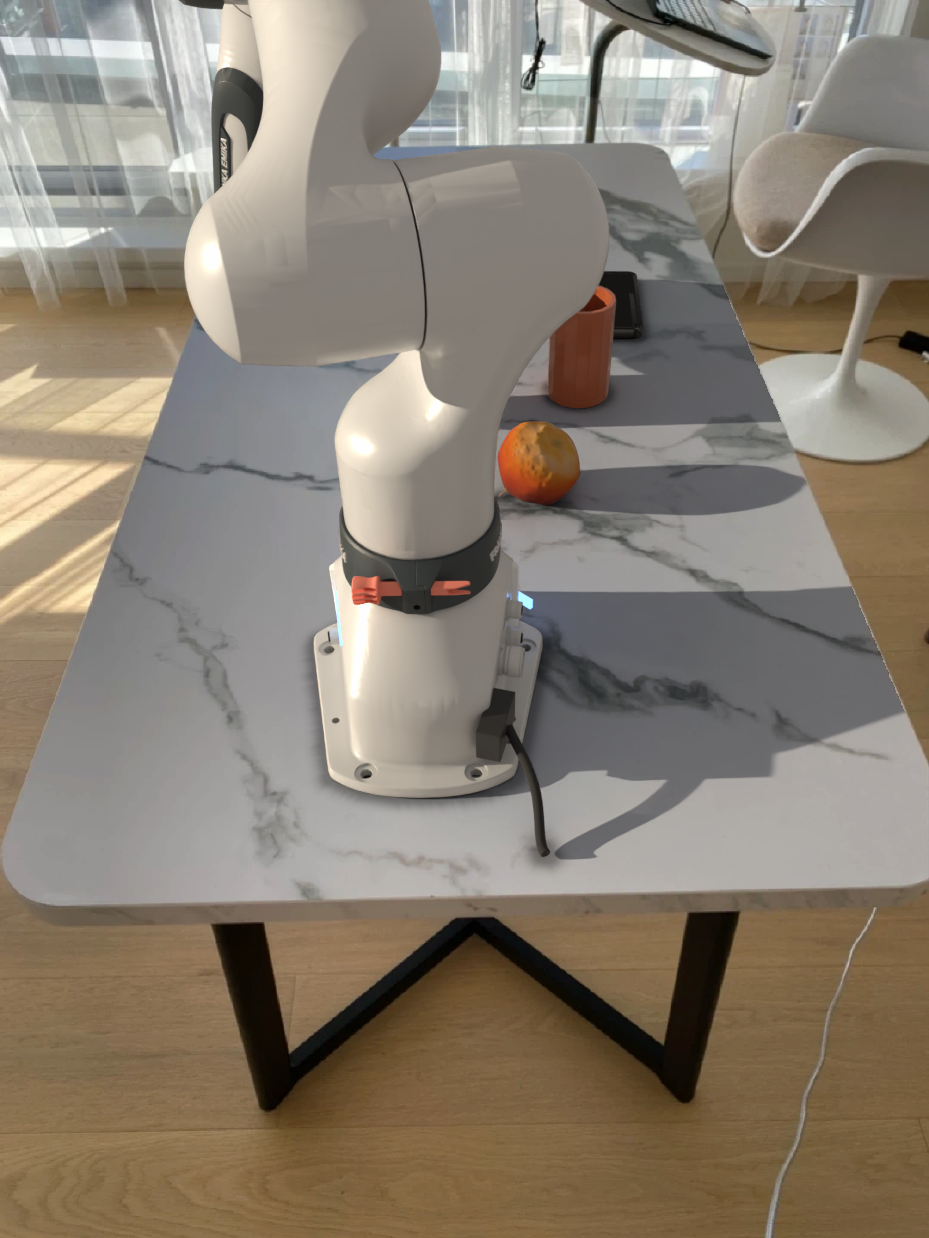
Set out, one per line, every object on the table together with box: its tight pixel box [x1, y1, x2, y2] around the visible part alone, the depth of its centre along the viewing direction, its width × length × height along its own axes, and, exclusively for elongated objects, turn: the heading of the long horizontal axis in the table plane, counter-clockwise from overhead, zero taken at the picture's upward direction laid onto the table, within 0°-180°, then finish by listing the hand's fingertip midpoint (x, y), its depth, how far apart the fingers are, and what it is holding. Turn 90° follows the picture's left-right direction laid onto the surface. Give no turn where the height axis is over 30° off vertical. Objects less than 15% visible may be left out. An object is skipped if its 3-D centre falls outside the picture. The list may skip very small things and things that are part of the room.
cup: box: [546, 285, 616, 409], centre depth 111 cm, size 7×7×11 cm
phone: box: [599, 270, 644, 339], centre depth 128 cm, size 8×1×15 cm
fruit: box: [497, 421, 581, 507], centre depth 100 cm, size 8×8×8 cm
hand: (485, 283), depth 113 cm, fingers open, 8 cm apart
